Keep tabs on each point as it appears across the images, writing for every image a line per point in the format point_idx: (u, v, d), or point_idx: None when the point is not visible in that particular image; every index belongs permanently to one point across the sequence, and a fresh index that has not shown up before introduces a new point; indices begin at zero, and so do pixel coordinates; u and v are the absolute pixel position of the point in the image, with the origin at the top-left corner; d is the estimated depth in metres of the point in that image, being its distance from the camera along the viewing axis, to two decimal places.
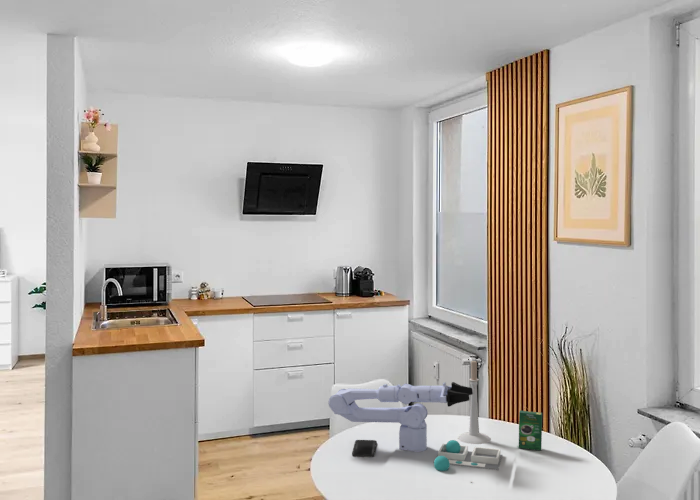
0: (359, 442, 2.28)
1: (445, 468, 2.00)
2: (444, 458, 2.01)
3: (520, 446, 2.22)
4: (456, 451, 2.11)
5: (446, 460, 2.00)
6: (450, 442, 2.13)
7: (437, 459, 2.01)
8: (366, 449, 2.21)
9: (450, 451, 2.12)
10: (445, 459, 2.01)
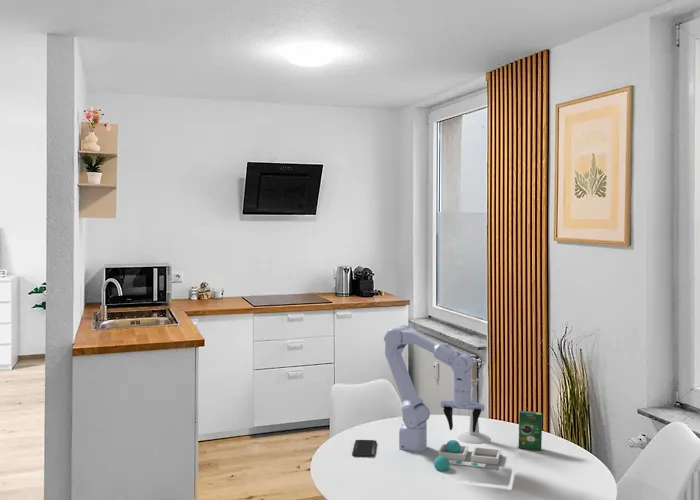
0: (359, 442, 2.28)
1: (445, 468, 2.00)
2: (444, 458, 2.01)
3: (520, 446, 2.22)
4: (456, 451, 2.11)
5: (446, 460, 2.00)
6: (450, 442, 2.13)
7: (437, 459, 2.01)
8: (366, 449, 2.21)
9: (450, 451, 2.12)
10: (445, 459, 2.01)
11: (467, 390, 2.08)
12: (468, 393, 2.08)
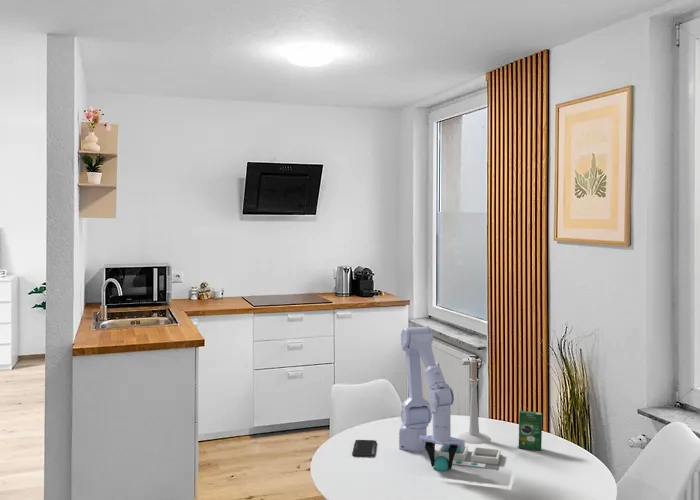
0: (359, 442, 2.28)
1: (445, 468, 2.00)
2: (444, 458, 2.01)
3: (520, 446, 2.22)
4: (456, 451, 2.11)
5: (446, 460, 2.00)
6: None
7: (437, 459, 2.01)
8: (366, 449, 2.21)
9: None
10: (445, 459, 2.01)
11: (440, 426, 1.99)
12: (447, 428, 1.99)
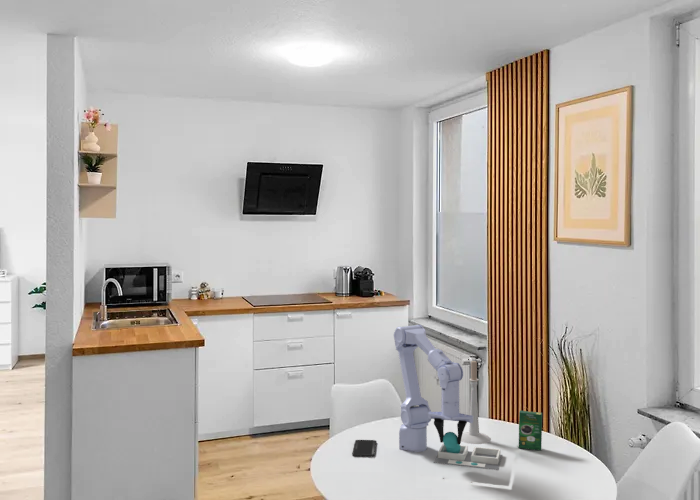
0: (359, 442, 2.28)
1: (454, 444, 2.01)
2: (453, 434, 2.02)
3: (520, 446, 2.22)
4: (456, 451, 2.11)
5: (455, 436, 2.02)
6: None
7: (446, 435, 2.02)
8: (366, 449, 2.21)
9: (450, 451, 2.12)
10: (454, 435, 2.02)
11: (451, 401, 2.00)
12: (456, 404, 2.00)
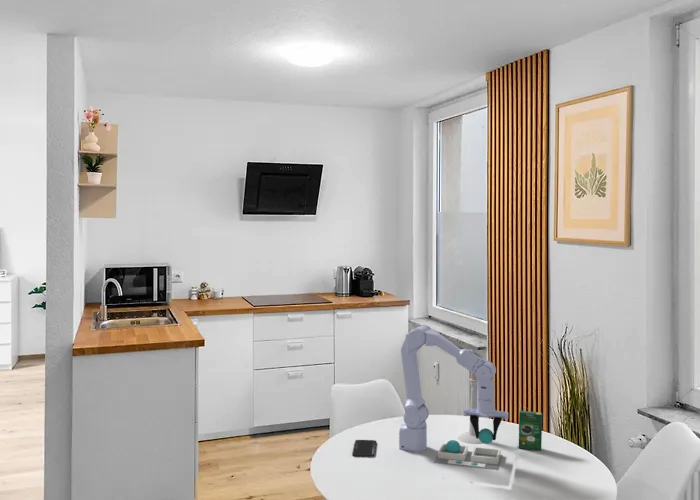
0: (359, 442, 2.28)
1: (489, 440, 2.07)
2: (488, 430, 2.08)
3: (520, 446, 2.22)
4: (456, 451, 2.11)
5: (490, 432, 2.08)
6: (450, 442, 2.13)
7: (481, 431, 2.09)
8: (366, 449, 2.21)
9: (450, 451, 2.12)
10: (489, 431, 2.08)
11: (492, 398, 2.07)
12: (492, 401, 2.07)
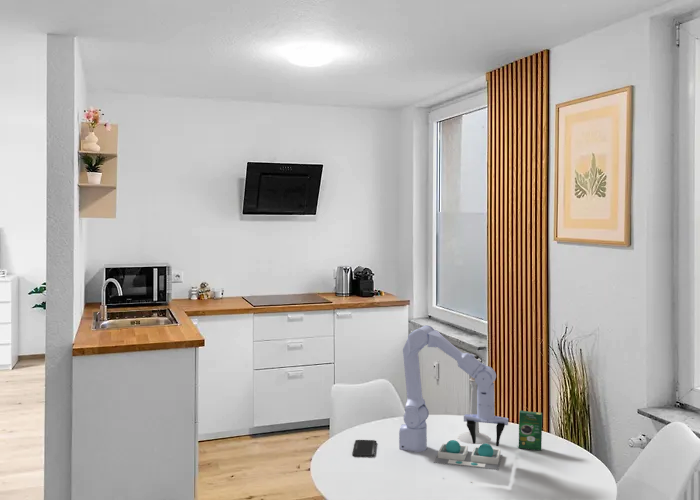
0: (359, 442, 2.28)
1: (489, 455, 2.08)
2: (488, 446, 2.09)
3: (520, 446, 2.22)
4: (456, 451, 2.11)
5: (490, 448, 2.08)
6: (450, 442, 2.13)
7: (481, 446, 2.09)
8: (366, 449, 2.21)
9: (450, 451, 2.12)
10: (489, 447, 2.08)
11: (492, 404, 2.07)
12: (492, 407, 2.07)
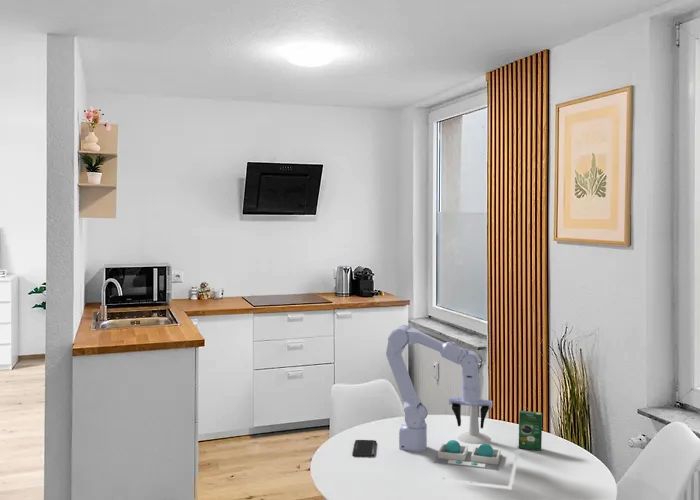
0: (359, 442, 2.28)
1: (489, 455, 2.08)
2: (488, 446, 2.09)
3: (520, 446, 2.22)
4: (456, 451, 2.11)
5: (490, 448, 2.08)
6: (450, 442, 2.13)
7: (481, 446, 2.09)
8: (366, 449, 2.21)
9: (450, 451, 2.12)
10: (489, 447, 2.08)
11: (477, 387, 2.12)
12: (476, 390, 2.12)
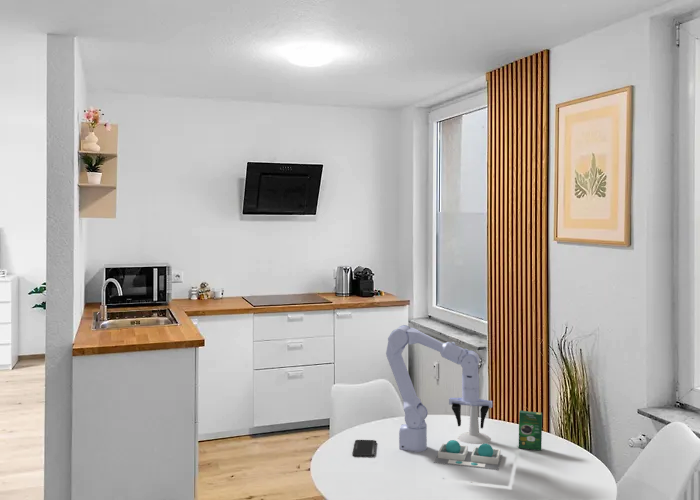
0: (359, 442, 2.28)
1: (489, 455, 2.08)
2: (488, 446, 2.09)
3: (520, 446, 2.22)
4: (456, 451, 2.11)
5: (490, 448, 2.08)
6: (450, 442, 2.13)
7: (481, 447, 2.09)
8: (366, 449, 2.21)
9: (450, 451, 2.12)
10: (489, 447, 2.08)
11: (477, 387, 2.12)
12: (476, 390, 2.12)
